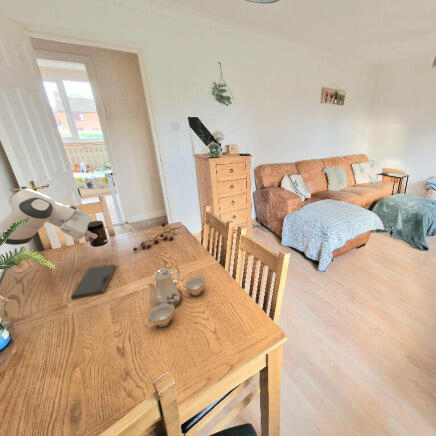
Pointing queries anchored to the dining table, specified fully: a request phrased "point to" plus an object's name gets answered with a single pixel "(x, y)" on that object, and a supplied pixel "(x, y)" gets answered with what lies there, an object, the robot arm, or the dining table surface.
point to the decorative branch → (157, 238)
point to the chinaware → (169, 295)
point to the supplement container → (98, 229)
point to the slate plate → (94, 281)
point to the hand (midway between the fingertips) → (98, 233)
